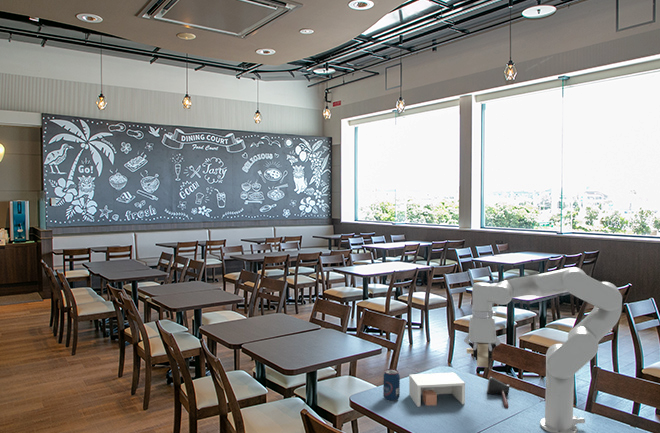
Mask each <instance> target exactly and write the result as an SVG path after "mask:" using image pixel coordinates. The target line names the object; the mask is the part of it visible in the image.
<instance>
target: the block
mask: <svg viewBox="0 0 660 433" xmlns="http://www.w3.org/2000/svg"><path fill="white" fill-rule="evenodd" d="M437 396H438V394H436V393H435V392H434V391H433V390H428V391H423V395H422V402H423V403H424V405H425V406H437V405H438V404H437V403H438V397H437Z"/></svg>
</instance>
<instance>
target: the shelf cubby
mask: <svg viewBox="0 0 660 433" xmlns="http://www.w3.org/2000/svg"><path fill="white" fill-rule="evenodd" d="M408 376H409V381H408V382H409V384H408V386H409V387H408V388H409V389H408V393H409V397H410V398H411V399H412V401H413V403H414V404H415V405H416V406H417V408H418V407H419V408H420V407H421V396H423V391H428V390H433V391H434V392H435V393H436V394H437V395H449V394H452V395H453V396H454V397H455V398H456V400H457V401H458V402H460V404H462V405H466V383H465V381H463V380H462V379H461V378H460V377H459V375H457V374H456V373H455V372H452V371H451V372H436V373H434V372H432V373H418V374H417V373H416V374H413V373H412V374H409V375H408Z"/></svg>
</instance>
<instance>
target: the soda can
mask: <svg viewBox="0 0 660 433" xmlns="http://www.w3.org/2000/svg"><path fill="white" fill-rule="evenodd" d="M400 378H401V376H400V374H399V371H398V369H395V368H394V369H393V368H387V369H385V370H384V373H383V384H382V385H383V391H382V392H383V393H382V394H383V395H382V396H383V398H384V400H385V401H386V402H397V401H398V400H399V398H400V393H401V392H400V386H401V385H400V384H401V382H400V381H401V380H400Z"/></svg>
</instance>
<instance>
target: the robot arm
mask: <svg viewBox="0 0 660 433" xmlns="http://www.w3.org/2000/svg"><path fill="white" fill-rule="evenodd" d="M471 292H472V293H471V294H472V295H471V296H472V297H471V298H472V305H471V306H472V315H470V317H469V324H468V333H467V335H466V337H465V338H464V340H463V341H464V343H466V344H467V345H468V346H470V348H473V354H472V355H473V358H474V359H475V361H477V343H488V362H490V361H491V360H490V359H492V352H493V349H495V348H496V347H498V346H499V345H501V344H502V343H501V340H500V339H499V337H498V336H497V335H496V334H497V332H496V330H497V329H496V324H495V323H496V321H495V317H494V316H497V312H496V311H494V310H493V304H497V305H502V306H503V305H508V304H509V303H510V302H511V301H512V299H515V298H519V297H524V296H537V297H539V298H540V297H549V296H553V295H554V296H555V295H559V294H563V293H564V294H565V293H569V294H570V295H573V296H574V297H576V298H578V299H580V300H581V301H584V302H586V303H588V304H590V305H592V306H593V309H591V311H589V313H588V314H587V315H586V316H585V317H584V318H582V319H581V320H580V322H578V324H576V325H575V326H573V328H572V329H570V330H569V331H568V334H567V339H566V340H565V342H564V343H554V344H552V345H550V346H549V347H548V349H547V350H546V354H545V397H544V398H545V399H544V401H545V403H544V404H545V405H544V418H542V419H541V420H539V421H540V422H539V424H540V426H541V428H542V429H543V430H544V431H546V432H548V433H578V427H577V425H578V424H585V423H586V419H585V418H584V417H578V416H577V415H574V396H575V395H574V393H575V392H574V390H575V374H576V373H577V372H579V370H581V369H582V368H583V367H584V366H586V364H588V363H589V362H590V361H591V360H592V359H593V358H594V357H595V356H596V354H597V353H598V351H599V342H600V341H601V340H602V339H603V338H604V337H606V335H607V334H608V333H609V332H611V330H612V329H613V328H614V327H615V326H616V324H617V323H618V322H619V320H620V318H621V315H622V310H623V309H622V308H623V307H622V306H623V295H622V294H621V292H620V290H619V288H618V287H617V286H616V285H615V284H614V283H611V282H609V281H600V280H597V279H595V278H593V277H591V276H590V275H587V274H586V272H585V271H584V270H583V269H582V268H579V267H576V266H573V267H566V268H561V269H558V270H553V271H548V272H544V273H543V272H542V273H539V274H533V275H532V274H531V275H527V276H520V277H514V278H510V279H506V280H502V281H501V280H500V281H498V282H497V283H496V285H492V284H490V283H488V282H483V281H482V282H475V283H473V284H472V290H471Z"/></svg>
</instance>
